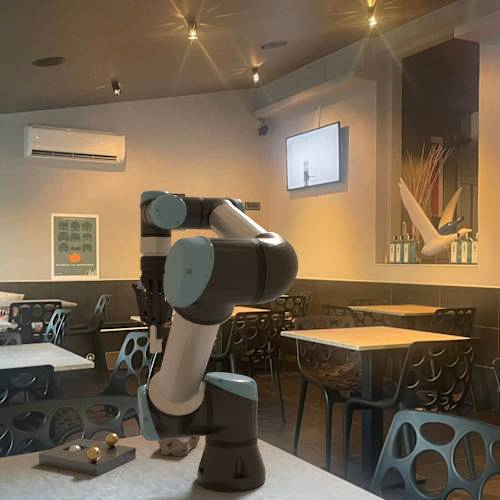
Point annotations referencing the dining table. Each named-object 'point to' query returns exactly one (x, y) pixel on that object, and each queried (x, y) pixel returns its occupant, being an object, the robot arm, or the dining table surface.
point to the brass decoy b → (112, 439)
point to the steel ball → (74, 448)
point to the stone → (178, 446)
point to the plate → (79, 460)
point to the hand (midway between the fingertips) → (155, 352)
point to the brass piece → (93, 454)
